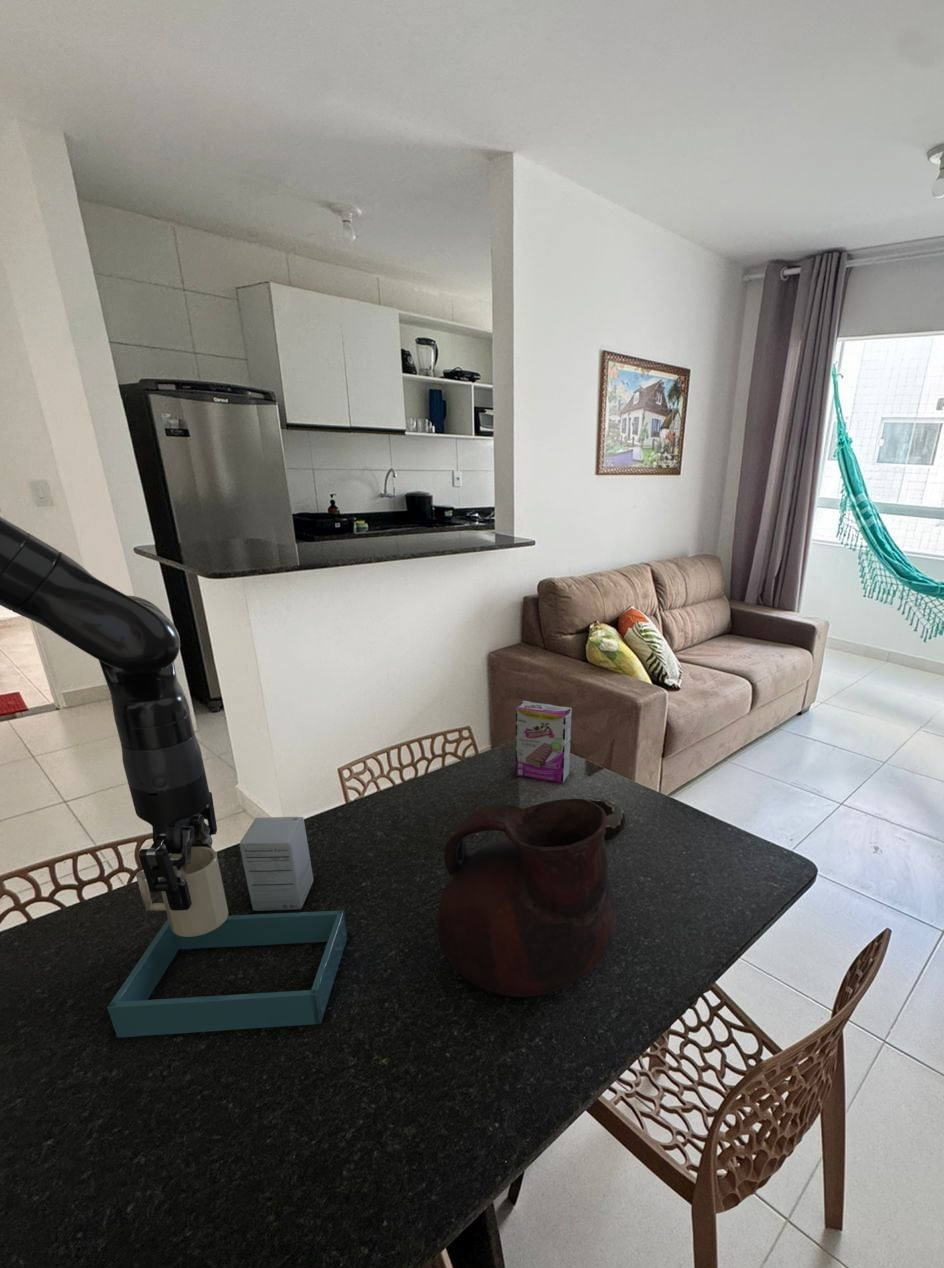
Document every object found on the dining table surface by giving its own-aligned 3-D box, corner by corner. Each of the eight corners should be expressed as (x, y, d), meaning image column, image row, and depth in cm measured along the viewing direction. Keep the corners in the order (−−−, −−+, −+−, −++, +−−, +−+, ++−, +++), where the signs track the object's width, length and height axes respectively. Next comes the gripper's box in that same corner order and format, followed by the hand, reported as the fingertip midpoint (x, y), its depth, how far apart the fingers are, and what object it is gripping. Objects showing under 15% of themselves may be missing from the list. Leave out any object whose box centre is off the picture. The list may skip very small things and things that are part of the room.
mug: (236, 902, 88) (224, 845, 84) (217, 935, 82) (204, 876, 79) (160, 905, 87) (146, 847, 83) (136, 939, 81) (119, 879, 77)
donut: (554, 818, 130) (554, 801, 128) (606, 806, 135) (608, 789, 133) (581, 850, 120) (581, 831, 119) (636, 835, 126) (637, 817, 124)
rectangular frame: (117, 1037, 80) (106, 1007, 78) (175, 945, 94) (167, 918, 92) (320, 1024, 83) (316, 994, 81) (347, 937, 98) (344, 910, 96)
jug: (502, 881, 111) (501, 748, 101) (640, 932, 101) (653, 791, 91) (400, 981, 90) (385, 826, 80) (560, 1057, 81) (566, 892, 71)
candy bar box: (514, 777, 144) (514, 708, 138) (522, 766, 149) (522, 699, 142) (563, 785, 142) (565, 715, 135) (570, 774, 147) (572, 706, 140)
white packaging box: (267, 882, 108) (255, 816, 103) (315, 880, 109) (305, 815, 104) (251, 912, 101) (236, 843, 96) (301, 910, 102) (290, 842, 97)
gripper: (160, 745, 82) (186, 856, 89) (96, 805, 69) (131, 931, 76) (225, 745, 83) (245, 855, 90) (173, 804, 70) (202, 928, 77)
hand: (193, 889), depth 83 cm, fingers closed on mug, 6 cm apart
